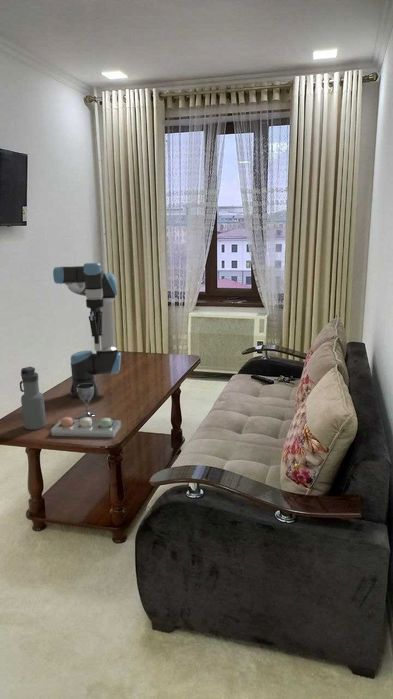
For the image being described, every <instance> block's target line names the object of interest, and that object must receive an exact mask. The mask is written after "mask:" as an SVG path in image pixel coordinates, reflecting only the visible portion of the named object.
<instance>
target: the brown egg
mask: <svg viewBox="0 0 393 699" xmlns="http://www.w3.org/2000/svg"><path fill="white" fill-rule="evenodd" d="M72 419H73V417H71V416H65V417H62V418H60V420H61V427H72V425H73V422H72Z"/></svg>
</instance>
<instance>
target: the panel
mask: <svg viewBox="0 0 393 699" xmlns="http://www.w3.org/2000/svg"><path fill="white" fill-rule="evenodd" d="M80 419H81V418H80ZM80 419H79V418H78V419H76V418H72V422H73V425H72V427H61V419H60V420H59V421H58V422H56V424H54V426H53V427H51V429H50V433H51V437H52V436H53V437H54V436H56V437H82V438H83V437H87V438H88V437H89V438H115V436H116V435H117V433H118V431H119V430H120V429H121V428H122V424H121V423H122V421H121V420H118V419H115V420H114V419H111V422H112V427H111V428H100V419H92V427H91V428H89V427H81V423H80Z"/></svg>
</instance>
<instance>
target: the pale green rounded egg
mask: <svg viewBox="0 0 393 699" xmlns="http://www.w3.org/2000/svg"><path fill="white" fill-rule="evenodd" d="M99 420H100V428H111V427H112V422H111V420H112V418H111V417H102V418H101V419H99Z"/></svg>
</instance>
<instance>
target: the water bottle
mask: <svg viewBox="0 0 393 699" xmlns="http://www.w3.org/2000/svg"><path fill="white" fill-rule="evenodd" d="M20 377H21V381H19V390H20V392H21V393H23V395H21V398H20V401H21V403H20V405H21V410H22V420H23V427H24V428H25V429H26V430H28V429H29V430H28V431H35V430H36V431H37V430H40V429H43V428H44V427H46V425H47V420H46V409H45V407H46V406H45V398H44V395H43V393H42V392H40V388H39V373H38V372H36V368H35V367H33V366H26V367H23V368H21V370H20Z"/></svg>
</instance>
